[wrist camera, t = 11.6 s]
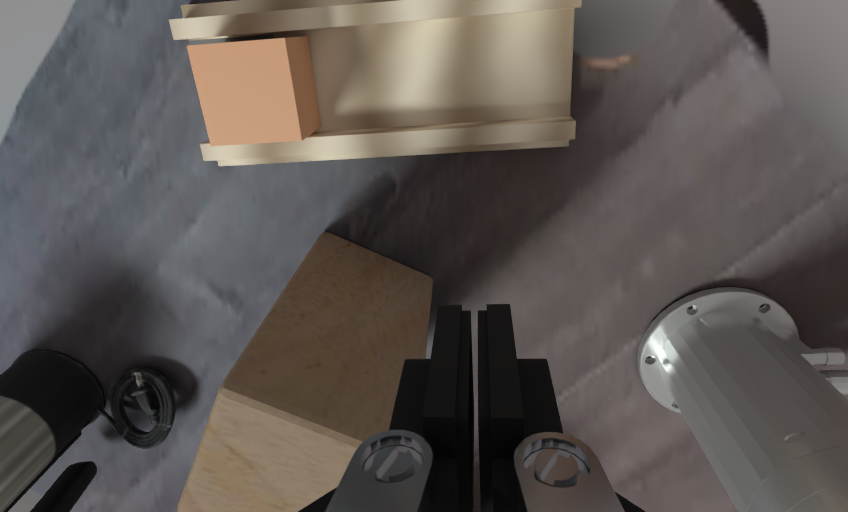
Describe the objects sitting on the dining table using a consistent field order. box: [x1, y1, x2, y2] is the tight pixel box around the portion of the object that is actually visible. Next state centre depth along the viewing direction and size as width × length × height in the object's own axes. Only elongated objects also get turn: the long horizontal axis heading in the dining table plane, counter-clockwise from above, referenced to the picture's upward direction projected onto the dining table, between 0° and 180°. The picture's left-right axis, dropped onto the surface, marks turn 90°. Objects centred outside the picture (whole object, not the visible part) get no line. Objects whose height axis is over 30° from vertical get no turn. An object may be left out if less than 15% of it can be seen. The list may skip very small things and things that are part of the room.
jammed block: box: [187, 36, 321, 146], centre depth 34 cm, size 6×6×5 cm
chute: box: [169, 0, 582, 166], centre depth 35 cm, size 26×11×3 cm, turn 94°
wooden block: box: [177, 232, 433, 512], centre depth 35 cm, size 10×10×20 cm
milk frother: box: [0, 350, 176, 512], centre depth 43 cm, size 14×16×15 cm
